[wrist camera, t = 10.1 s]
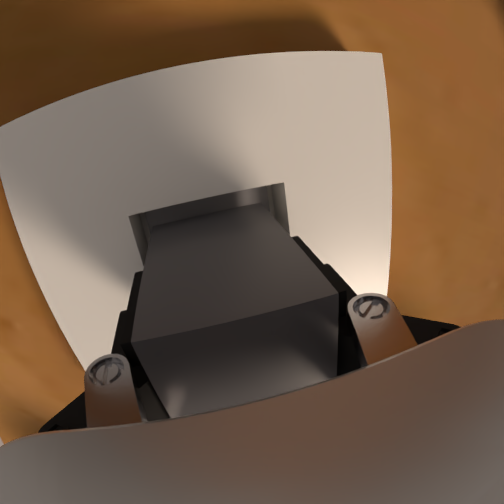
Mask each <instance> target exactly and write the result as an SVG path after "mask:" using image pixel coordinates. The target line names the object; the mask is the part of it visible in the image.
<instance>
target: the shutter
mask: <svg viewBox="0 0 504 504" xmlns="http://www.w3.org/2000/svg"><path fill="white" fill-rule="evenodd" d="M260 202H261V203H262V204H263V205H264V206H265V208H266V209H267V210H268V211H269V212H270V208H269V200H268V193H267V186H261V187H256V188H251V189H246V190H241V191H236V192H231V193H226V194H221V195H217V196H212V197H207V198H203V199H198V200H194V201H189V202H185V203H180V204H176V205H172V206H168V207H163V208H159V209H155V210H151V211H147V212H144V213H145V216H146V220H147V224H148V227H149V231H150V235H151V231H152V227H153V226H156V225H160V224H164V223H168V222H173V221H177V220H181V219H186V218H190V217H194V216H199V215H203V214H208V213H212V212H217V211H222V210H226V209H231V208H236V207H240V206H245V205H250V204H255V203H260Z"/></svg>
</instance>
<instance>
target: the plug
mask: <svg viewBox="0 0 504 504" xmlns="http://www.w3.org/2000/svg"><path fill="white" fill-rule="evenodd" d="M338 314H339V293H338V292H337V291H336V289H335V288H334V287H333V286H332V284H331V283H330V282H329V281H328V280H327V278H326V277H325V276H324V275H323V274H322V273H321V271H320V270H319V269H318V268H317V267H316V265H315V264H314V263H313V262H312V261H311V260H310V258H309V257H308V256H307V255H306V254H305V252H304V251H303V250H302V249H301V248H300V247H299V245H298V244H297V243H296V242H295V241H294V240H293V238H292V237H291V236H290V235H289V234H288V233H287V232H286V230H285V229H284V228H283V227H282V226H281V225H280V223H279V222H278V221H277V220H276V219H275V218H274V217H273V215H272V214H271V213H270V212H269V211H268V210H267V209H266V208H265V206H264V205H263V204H262V203H261V202H260V203H255V204H250V205H245V206H240V207H236V208H231V209H226V210H222V211H217V212H212V213H208V214H203V215H199V216H194V217H190V218H186V219H181V220H177V221H173V222H168V223H164V224H160V225H156V226H153V227H152V231H151V236H150V240H149V245H148V249H147V254H146V259H145V264H144V269H143V274H142V279H141V284H140V289H139V295H138V300H137V306H136V312H135V318H134V324H133V331H132V338H131V344H132V346H133V348H134V350H135V352H136V354H137V356H138V358H139V360H140V362H141V364H142V366H143V368H144V370H145V372H146V374H147V376H148V378H149V380H150V382H151V384H152V385H153V387H154V389H155V391H156V393H157V395H158V396H159V398H160V400H161V402H162V404H163V405H164V407H165V409H166V410H167V412H168V414H169V416H170V417H171V418H175V417H181V416H186V415H192V414H197V413H202V412H207V411H212V410H217V409H222V408H226V407H231V406H235V405H239V404H244V403H248V402H252V401H256V400H260V399H264V398H267V397H271V396H275V395H278V394H282V393H286V392H289V391H293V390H296V389H299V388H303V387H306V386H309V385H312V384H315V383H319V382H322V381H325V380H328V379H331V378H334V377H337V355H338Z"/></svg>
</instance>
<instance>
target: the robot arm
mask: <svg viewBox="0 0 504 504" xmlns="http://www.w3.org/2000/svg"><path fill="white" fill-rule="evenodd" d="M292 238H293V240H294V241H295V242H296V243H297V244H298V245H299V247H300V248H301V249H302V250H303V251H304V252H305V254H306V255H307V256H308V257H309V258H310V260H311V261H312V262H313V263H314V264H315V265H316V267H317V268H318V269H319V270H320V271H321V273H322V274H323V275H324V276H325V277H326V278H327V280H328V281H329V282H330V283H331V284H332V286H333V287H334V288H335V289H336V291H337V292H338V293H339V314H338V355H337V377H334V378H331V379H328V380H325V381H322V382H319V383H315V384H312V385H309V386H306V387H303V388H299V389H296V390H293V391H289V392H286V393H282V394H278V395H275V396H271V397H267V398H264V399H260V400H256V401H252V402H248V403H244V404H239V405H235V406H231V407H226V408H222V409H217V410H212V411H207V412H202V413H197V414H192V415H186V416H181V417H175V418H171V417H170V416H169V414H168V412H167V410H166V409H165V407H164V405H163V404H162V402H161V400H160V398H159V396H158V395H157V393H156V391H155V389H154V387H153V385H152V384H151V382H150V380H149V378H148V376H147V374H146V372H145V370H144V368H143V366H142V364H141V362H140V360H139V358H138V356H137V354H136V352H135V350H134V348H133V346H132V344H131V338H132V331H133V324H134V318H135V312H136V306H137V300H138V295H139V289H140V284H141V279H142V274H143V271H139V272H135V275H134V279H133V283H132V287H131V292H130V296H129V301H128V306H127V310H124V311H121V312H120V314H119V318H118V323H117V327H116V332H115V337H114V341H113V346H112V351H111V354H108V355H104V356H102V357H99V358H98V359H96V360H95V361H93V362H92V363H91V364H90V365H89V366H88V368H87V370H86V372H85V376H84V386H85V391H84V392H83V393H82V394H81V395H80V396H78V397H77V398H76V399H75V400H73V401H72V402H71V403H70V404H69V405H67V406H66V407H65V408H64V409H63V410H61V411H60V412H59V413H58V414H57V415H55V416H54V417H53V418H52V419H50V420H49V421H48V422H47V423H46V424H44V426H43V427H42V428H41V429H40V430H39V432H38V433H35V434H31V435H27V436H23V437H20V438H18V439H15V440H13V441H10V442H8V443H6V444H4V445H2V446H1V447H0V504H504V320H503V319H502V320H489V321H481V322H477V323H473V324H469V325H466V326H463V327H459V326H457V325H454V324H449V323H443V322H437V321H432V320H426V319H420V318H415V317H409V316H404V315H401V314H400V312H399V310H398V309H397V307H396V305H395V304H394V302H393V301H392V300H391V299H390V298H388V297H387V296H385V295H382V294H378V293H364V294H360V295H357V294H356V293H355V292H354V291H353V289H352V288H351V287H350V286H349V285H348V284H347V283H346V282H345V281H344V280H343V278H342V277H341V276H340V275H339V274H338V273H337V272H336V271H335V270H334V269H333V268H332V266H331V265H329V264H323V263H322V262H321V261H320V259H319V258H318V257H317V256H316V255H315V254H314V253H313V252H312V251H311V249H310V248H309V247H308V246H307V245H306V244H305V243H304V242H303V241H302V240H301V239H300V237H299V236H294V237H292Z"/></svg>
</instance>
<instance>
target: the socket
mask: <svg viewBox="0 0 504 504" xmlns="http://www.w3.org/2000/svg"><path fill="white" fill-rule="evenodd" d="M0 176H1V180H2V184H3V188H4V191H5V195H6V198H7V201H8V204H9V208H10V211H11V214H12V217H13V220H14V223H15V226H16V229H17V231H18V234H19V237H20V240H21V242H22V245H23V248H24V250H25V253H26V255H27V258H28V260H29V263H30V265H31V267H32V270H33V272H34V274H35V277H36V279H37V281H38V283H39V286H40V288H41V290H42V292H43V294H44V296H45V299H46V301H47V303H48V305H49V307H50V309H51V311H52V313H53V315H54V317H55V319H56V321H57V322H58V324H59V326H60V328H61V330H62V332H63V334H64V335H65V337H66V339H67V341H68V343H69V344H70V346H71V348H72V350H73V351H74V353H75V355H76V356H77V358H78V360H79V361H80V363H81V365H82V366H83V368H84V369H85V371H86V370H87V368H88V366H89V365H90V364H91V363H92V362H93V361H95V360H96V359H98V358H99V357H102V356H104V355H108V354H111V351H112V346H113V341H114V337H115V332H116V327H117V323H118V318H119V314H120V312H121V311H124V310H127V306H128V301H129V296H130V292H131V287H132V283H133V279H134V275H135V272H139V271H143V269H144V264H145V259H146V254H147V249H148V245H149V240H150V236H151V235H150V231H149V227H148V224H147V220H146V216H145V213H144V212H147V211H151V210H155V209H159V208H163V207H168V206H172V205H176V204H180V203H185V202H189V201H194V200H198V199H203V198H207V197H212V196H217V195H221V194H226V193H231V192H236V191H241V190H246V189H251V188H256V187H261V186H267V193H268V200H269V208H270V213H271V214H272V215H273V217H274V218H275V219H276V220H277V221H278V222H279V223H280V225H281V226H282V227H283V228H284V229H285V230H286V232H287V233H288V234H289V235H290V236H291V237H294V236H299V237H300V239H301V240H302V241H303V242H304V243H305V244H306V245H307V246H308V247H309V248H310V249H311V251H312V252H313V253H314V254H315V255H316V256H317V257H318V258H319V259H320V261H321V262H322V263H323V264H329V265H331V266H332V268H333V269H334V270H335V271H336V272H337V273H338V274H339V275H340V276H341V277H342V278H343V280H344V281H345V282H346V283H347V284H348V285H349V286H350V287H351V288H352V289H353V291H354V292H355V293H356V294H357V295H360V294H364V293H378V294H382V295H385V296H387V290H388V278H389V265H390V248H391V224H392V165H391V141H390V125H389V112H388V101H387V91H386V82H385V74H384V66H383V59H382V53H372V52H352V51H299V52H279V53H265V54H254V55H244V56H236V57H228V58H221V59H214V60H207V61H201V62H195V63H190V64H185V65H179V66H175V67H170V68H165V69H161V70H156V71H152V72H148V73H144V74H140V75H136V76H132V77H129V78H125V79H121V80H118V81H115V82H111V83H108V84H105V85H102V86H98V87H95V88H92V89H89V90H86V91H83V92H81V93H78V94H75V95H72V96H69V97H67V98H64V99H62V100H59V101H56V102H54V103H51V104H49V105H47V106H44V107H42V108H39V109H37V110H35V111H32V112H30V113H28V114H26V115H24V116H21V117H19V118H17V119H15V120H13V121H11V122H9V123H7V124H5V125H3V126H1V127H0Z"/></svg>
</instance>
